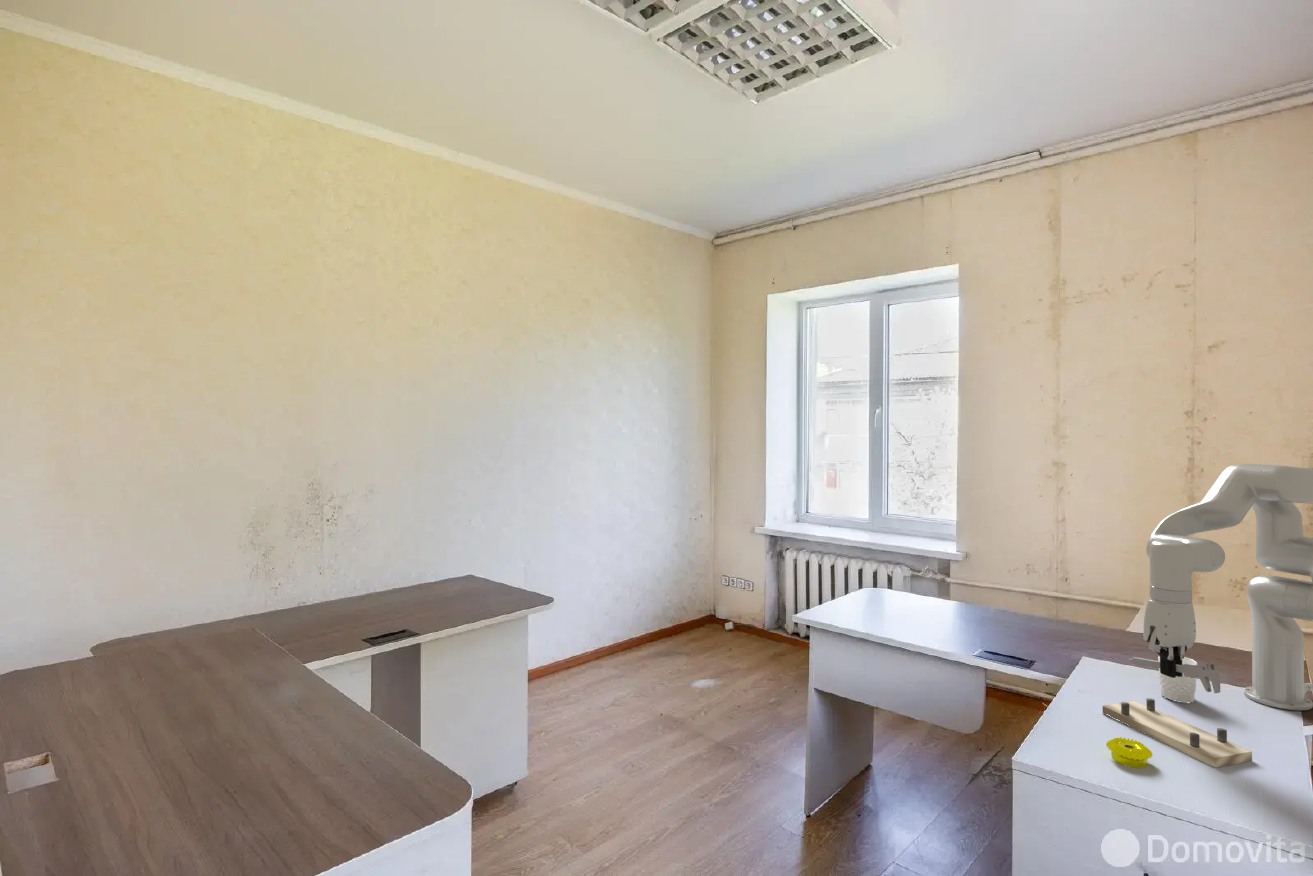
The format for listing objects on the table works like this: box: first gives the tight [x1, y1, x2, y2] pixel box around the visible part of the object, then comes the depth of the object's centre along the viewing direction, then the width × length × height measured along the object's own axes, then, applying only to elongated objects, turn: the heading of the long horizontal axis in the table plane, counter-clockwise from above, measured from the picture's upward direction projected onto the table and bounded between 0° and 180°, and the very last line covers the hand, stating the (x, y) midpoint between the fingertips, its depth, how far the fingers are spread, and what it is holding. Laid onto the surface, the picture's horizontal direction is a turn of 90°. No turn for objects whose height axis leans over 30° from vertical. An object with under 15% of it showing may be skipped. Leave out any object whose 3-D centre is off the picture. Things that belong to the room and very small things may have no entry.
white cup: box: [1157, 655, 1198, 704], centre depth 167 cm, size 8×8×10 cm
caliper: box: [1127, 656, 1221, 694], centre depth 148 cm, size 20×1×6 cm, turn 13°
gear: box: [1105, 737, 1153, 769], centre depth 138 cm, size 8×4×8 cm
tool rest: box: [1102, 697, 1253, 768], centre depth 148 cm, size 10×26×4 cm, turn 13°
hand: (1171, 674), depth 148 cm, fingers closed on caliper, 1 cm apart
